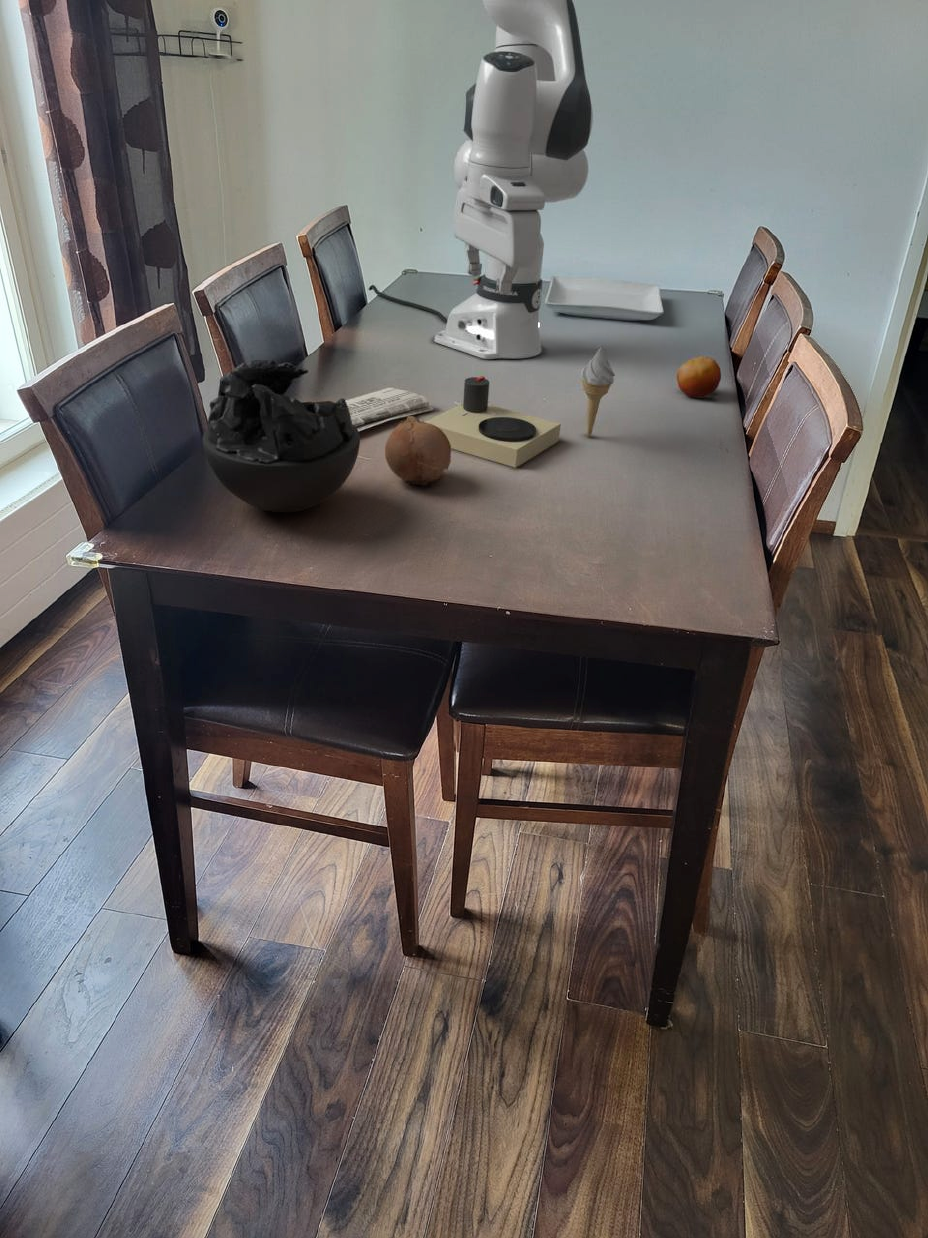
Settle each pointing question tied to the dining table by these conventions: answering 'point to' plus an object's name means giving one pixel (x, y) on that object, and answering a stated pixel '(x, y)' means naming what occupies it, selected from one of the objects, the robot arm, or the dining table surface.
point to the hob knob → (476, 394)
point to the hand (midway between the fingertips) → (488, 283)
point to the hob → (469, 439)
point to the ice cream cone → (596, 384)
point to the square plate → (604, 298)
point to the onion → (418, 451)
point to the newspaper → (384, 407)
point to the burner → (507, 429)
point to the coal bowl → (277, 439)
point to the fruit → (699, 377)
